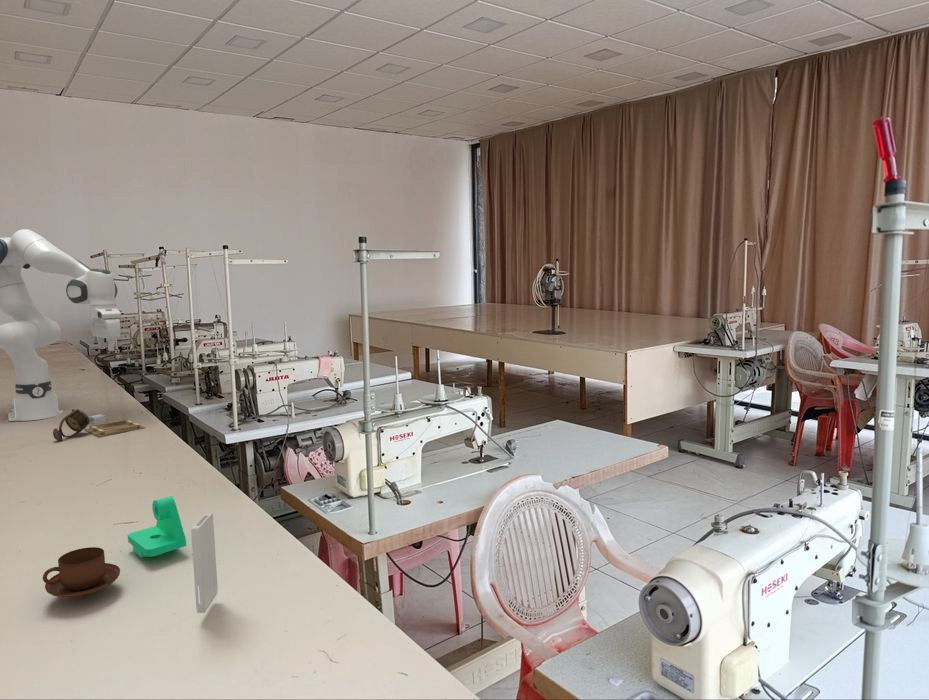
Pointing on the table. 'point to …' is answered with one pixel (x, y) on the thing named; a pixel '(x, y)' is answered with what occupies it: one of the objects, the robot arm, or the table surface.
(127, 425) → the picture frame
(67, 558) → the cup and saucer
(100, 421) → the usb wall charger
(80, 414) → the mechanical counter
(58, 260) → the robot arm
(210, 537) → the phone case
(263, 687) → the table surface
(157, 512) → the camera mount
